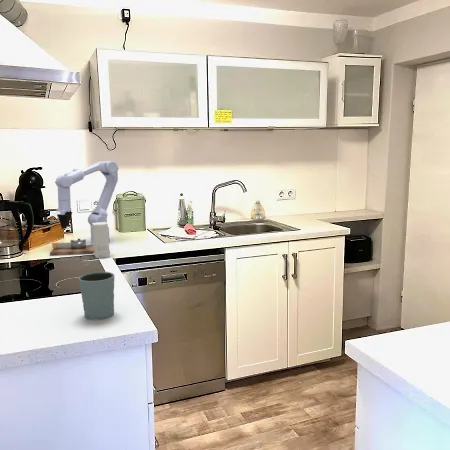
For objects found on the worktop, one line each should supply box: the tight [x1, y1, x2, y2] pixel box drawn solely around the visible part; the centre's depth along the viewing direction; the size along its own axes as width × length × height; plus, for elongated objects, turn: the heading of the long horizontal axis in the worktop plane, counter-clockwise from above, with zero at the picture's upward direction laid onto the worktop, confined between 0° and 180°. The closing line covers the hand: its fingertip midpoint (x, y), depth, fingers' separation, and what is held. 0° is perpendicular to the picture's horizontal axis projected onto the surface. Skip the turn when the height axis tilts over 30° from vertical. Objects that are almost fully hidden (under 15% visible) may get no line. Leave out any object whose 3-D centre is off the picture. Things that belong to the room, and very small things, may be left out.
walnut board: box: [49, 244, 94, 257], centre depth 222 cm, size 20×15×2 cm
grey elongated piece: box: [51, 238, 87, 249], centre depth 221 cm, size 16×7×4 cm, turn 101°
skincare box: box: [92, 222, 111, 259], centre depth 210 cm, size 8×7×16 cm
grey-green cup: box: [78, 271, 115, 321], centre depth 136 cm, size 10×10×12 cm
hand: (65, 227), depth 226 cm, fingers open, 7 cm apart
